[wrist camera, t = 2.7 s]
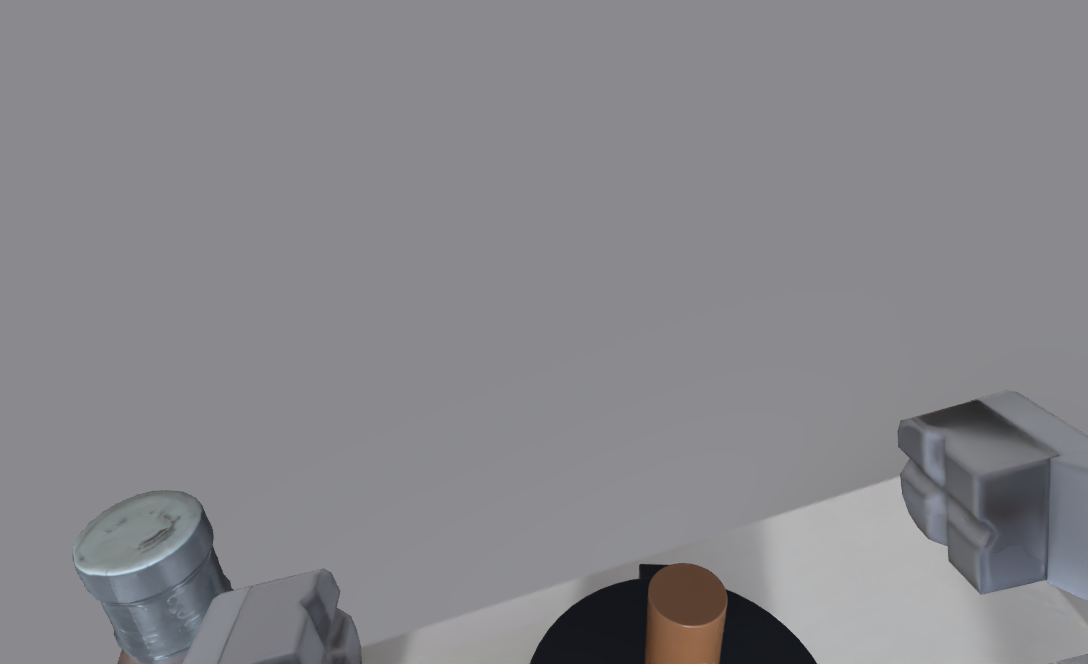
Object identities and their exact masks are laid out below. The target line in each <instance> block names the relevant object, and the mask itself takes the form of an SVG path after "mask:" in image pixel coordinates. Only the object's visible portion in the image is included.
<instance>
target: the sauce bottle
mask: <svg viewBox="0 0 1088 664" xmlns="http://www.w3.org/2000/svg"><path fill="white" fill-rule="evenodd" d="M212 544H213V529H212V526H211V524H210V522H209V520H208V518H207V516H206V514H205V511H204V509H203V506H202V505H201V503H200V502H199V501H198V500H197V499H196V498H195V497H193V496H191V495H189V494H186V493H184V492H180V491H179V492H178V491H151V492H147V493H143V494H138V495H136V496H134V497H131V498H128V499H126V500H124V501H122V502H120V503H117V504H116V505H114V506H112V507H110V508H109V509H107V510H105V511H104V512H102V513H101V514H100V515H99V516H98V517H97V518H96V519H94V520H93V521H91V522H90V523H89V524H88V525H87V527H86V528H85V529H84V530H83V531H82V532H81V534H80V535H79V537H78V538H77V540H76V542H75V544H74V548H73V561H74V565H75V568H76V571H77V572H78V574H79V576H80V578H81V580H82V581H83V583H84V585H85V587H86V589H87V590H88V592H89V593H90V594H92V596H93V597H95V598H96V599H97V600H99V601H100V602H101V604H102V606H103V608H104V610H105V612H106V614H107V615H108V617H109V619H110V622H111V624H112V625H113V628H114V636H115V637H116V640H117V642H118V645H119V646H120V647H121V648H122V652H121V654H120V657H119V661H118V664H182V663H183V661H184V659H185V657H186V655H187V653H188V651H189V649H190V646H191V644H192V642H193V640H194V638H195V636H196V634H197V632H198V629H199V627H200V625H201V623H202V621H203V619H204V617H205V615H206V613H207V610H208V608H209V606H210V604H211V602H212V600H213V599H214V598H215V597H217V596H218V595H220V594H221V593H225V592H229V591H233V589H232V588H231V584H230V581H229V580H228V579H227V578H226V576H225V575H224V574H223V571H222V569H221V566H220V564H219V561H218V557H217V556H216V554H215V551H214V548H213V545H212Z"/></svg>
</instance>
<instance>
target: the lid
mask: <svg viewBox="0 0 1088 664" xmlns="http://www.w3.org/2000/svg"><path fill="white" fill-rule="evenodd" d="M530 664H817V663H816V661H815V660H814V658H813V657H812V655H811V654H810V653H809V651H808V650H807V649H806V648H805V646H804V645H803V644H802V643H801V642H800V640H799V639H798V638H797V637H796V636H795V635H794V634H793V633H792V632H791V631H790V630H789V629H788V628H787V627H786V626H785V625H784V624H782V623H781V622H780V621H779V620H777V619H776V618H775V617H774V616H772V615H771V614H770V613H769V612H767V611H766V610H764V609H763V608H761V607H759V606H758V605H756V604H755V603H753V602H751V601H749V600H748V599H746V598H744V597H742V596H740V595H738V594H736V593H733V592H731V591H728V590H726V589H725V588H724V586H723V584H722V582H721V581H720V580H719V579H718V578H717V577H716V576H715V575H714V574H713V573H712V572H710V571H709V570H707V569H705V568H703V567H700V566H697V565H693V564H686V563H679V564H673V565H669V566H666V567H664V568H662V569H661V570H659V571H658V572H657V573H656V574H655V575H654V576H653V577H649V578H641V579H633V580H629V581H625V582H621V583H616V584H614V585H611V586H608V587H605V588H603V589H600V590H598V591H596V592H594V593H592V594H590V595H588V596H586V597H585V598H583V599H582V600H580V601H579V602H577V603H576V604H574V605H573V606H571V607H570V608H569V609H568V610H567V611H566V612H565V613H564V614H562V615H561V616H560V617H559V618H558V619H557V620H556V622H555V623H554V624H553V625H552V626H551V627H550V628H549V630H548V631H547V633H546V634H545V636H544V637H543V639H542V640H541V642H540V643H539V645H538V647H537V649H536V651H535V653H534V655H533V657H532V659H531V662H530Z"/></svg>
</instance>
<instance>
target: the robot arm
mask: <svg viewBox="0 0 1088 664" xmlns="http://www.w3.org/2000/svg"><path fill="white" fill-rule="evenodd" d="M898 447H899V448H900V449H901V450H902V451H903V452H904V453H905V454H906V455H907V456H908V457H910V459H909V460H908V462H907V464H906V466H905V467H904V469H903V470H902V472H901V474H900V477H901V486H902V495H903V498H904V500H905V503H906V506H907V509H908V511H909V514H910V516H911V517H912V519H913V520H914V522H915V524H916V525H917V527H918V528H919V529H920V530H921V531H922V532H923V534H924V535H925V536H926V537H927V538H928V539H930V540H932V541H935V542H938V543H940V544H943V545H946V546H948V557H949V562H950V563H951V564H952V565H953V566H954V567H955V568H956V569H957V570H958V571H959V572H960V573H961V574H962V575H963V576H964V577H965V578H966V579H967V580H968V582H969V583H970V584H971V585H972V586H973V587H974V588H975V589H976V590H977V591H978V592H979V593H980V594H981V595H982V594H986V593H990V592H995V591H999V590H1004V589H1008V588H1012V587H1017V586H1021V585H1025V584H1030V583H1034V582H1038V581H1043V580H1047V583H1049V584H1051V585H1054V586H1056V587H1058V588H1060V589H1062V590H1064V591H1067V592H1069V593H1071V594H1073V595H1075V596H1078V597H1080V598H1082V599H1084V600H1086V601H1088V436H1087V435H1086V434H1084V433H1082V432H1081V431H1079V430H1078V429H1076V428H1074V427H1073V426H1071V425H1069V424H1068V423H1066V422H1065V421H1063V420H1061V419H1060V418H1058V417H1057V416H1055V415H1053V414H1052V413H1050V412H1049V411H1047V410H1045V409H1044V408H1042V407H1040V406H1039V405H1037V404H1036V403H1034V402H1033V401H1031V400H1029V399H1028V398H1026V397H1024V396H1023V395H1021V394H1020V393H1018V392H1014V391H1008V390H1005V391H1002V392H999V393H995V394H992V395H989V396H985V397H981V398H978V399H975V400H971V402H967V403H964V404H960V405H956V406H953V407H949V408H945V409H941V410H938V411H934V412H930V413H927V414H923V415H920V416H916V417H912V418H908V419H905V420H901V421H900V425H899V428H898ZM339 594H340V590H339V588H338V586H337V584H336V582H335V579H334V577H333V575H332V573H331V572H329V571H327V570H326V569H320V570H316V571H312V572H307V573H304V574H299V575H295V576H291V577H286V578H282V579H278V580H274V581H269V582H265V583H261V584H257V585H255V586H248V587H244V588H241V589H237V590H233V591H229V592H225V593H221V594H220V595H218V596H217V597H215V598H214V599H213V600H212V602H211V604H210V606H209V608H208V610H207V613H206V615H205V617H204V619H203V621H202V623H201V625H200V627H199V629H198V632H197V634H196V636H195V638H194V640H193V642H192V644H191V646H190V649H189V651H188V653H187V655H186V657H185V659H184V661H183V663H182V664H362V658H361V645H360V641H359V638H358V634H357V630H356V627H355V625H354V622H353V620H352V618H351V616H350V615H348V614H346V613H345V612H343V611H341V610H340V609H338V608H336V607H337V603H338V599H339ZM1050 664H1088V654H1085V655H1081V656H1077V657H1073V658H1069V659H1065V660H1062V661H1058V662H1054V663H1050Z"/></svg>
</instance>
